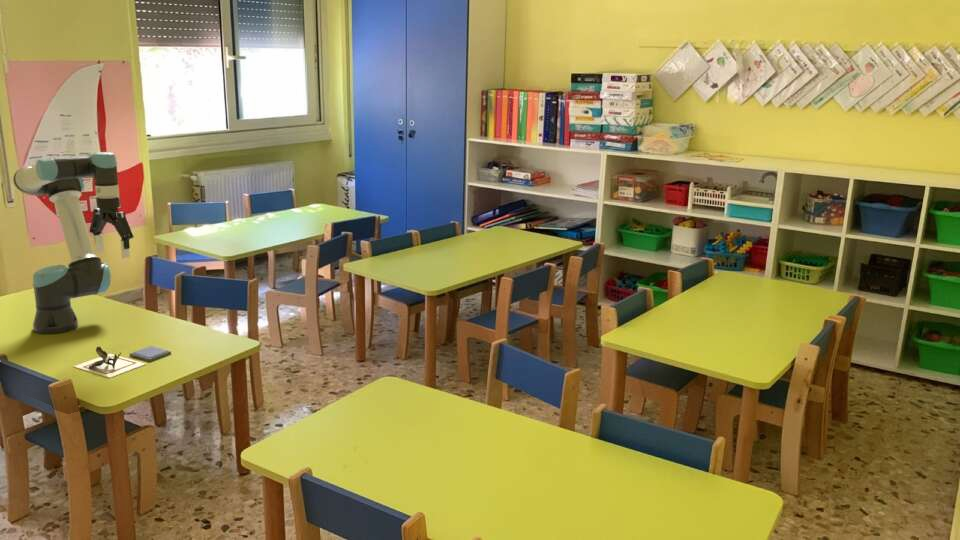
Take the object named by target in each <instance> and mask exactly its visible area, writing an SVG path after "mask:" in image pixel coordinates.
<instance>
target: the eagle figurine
mask: <svg viewBox="0 0 960 540" xmlns="http://www.w3.org/2000/svg"><path fill="white" fill-rule="evenodd" d="M95 353H96V354H97V355H98V357H101V358H103V360H100V361H96V362H94V363H93V364H92V365H90V366H89V368H92V367H94V366H101V365H102V364H103V363H105V364H107V365H112V367H113V368H115V363H116V361H117V359H118V358H119V356H120V357H121V354H122V352H119V354H118V355H117V354H116V353H115V354H114V355H115V356H114V358H113V359H112V358H109V357H110V355H109V356H108V354H109V353H107V352H106V350H103V348H102V346H97V347H96V349H95ZM107 356H108V357H107ZM109 360H113V364H112V363H110V362H109Z"/></svg>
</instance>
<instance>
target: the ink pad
mask: <svg viewBox="0 0 960 540" xmlns="http://www.w3.org/2000/svg"><path fill="white" fill-rule="evenodd" d="M169 355H172V352H171V350H168V349H165V348H160V347H158V346H153V345H150V346H146V347H144V348H140V349H138V350H136V351H133V352H130V353H129V357H132V358H136V359H139V360H143V361H145V362H153V361H156V360H158V359H161V358H163V357H166V356H169Z"/></svg>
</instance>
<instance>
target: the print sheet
mask: <svg viewBox="0 0 960 540" xmlns="http://www.w3.org/2000/svg"><path fill="white" fill-rule="evenodd" d="M107 354H108V356H109V355H110V357H109V358H112V359H113V358H114V356H115V354H112V353H107ZM108 356H107V357H108ZM100 360H103V358H101V357H100V356H98V357H96V358H93V359H91V360H88V361H85V362H82V363H80V364H76V365H74V366H73V368H75V369H79V370H82V371H86V372H88V373H92V374H95V375H98V376H102V377H105V378H108V379H111V378H115V377H117V376H119V375H122V374H125V373H128V372H130V371H133V370H135V369H138V368H141V367H143V366H146V365H147V363H144V362H141V361H136V360H134V359H130V358H127V357H123V356H121V355H120V356H119V358H118V359H117V361H116V363H115V368H113V367H112V365H107V364H105V363H103V364H102V365H101V366H94V367H92V368H89V366H90V365H92V364H93V363H94V362H96V361H100ZM109 362H110V363H112V364H113V360H109Z"/></svg>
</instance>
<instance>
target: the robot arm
mask: <svg viewBox="0 0 960 540" xmlns="http://www.w3.org/2000/svg"><path fill="white" fill-rule="evenodd" d="M117 165H118V162H117V157H116V155H115V153H113V152H109V151H108V152H107V151H100V152H99V151H98V152H94V153H93V154H86V155H81V156H68V157H45V158H39V159H37V160H36V163H35V165H29V166H23V167H21V168H19V169H17V170H16V171H15V172H14V175H13V177H12V181H13V185H14V186H15V188H16V189H17V190H19V192H21V193H23V194H26V195H30V196H48V199H49V201H50V202H51V203H53V204H54V205H55V208H56V212H57V215H58V219H59V222H60V226H61V229H62V233H63V236H64V239H65V240H64V241H65V243H66V247H67V251H68V254H69V258H70V261H69V263H68V265H67V266H68V267H67V266H66V265H64V264H58V265H50V266H49V265H48V266H46V267H42V268H39V269H38V270H36V271H35V272H34V273H33V275H32V287H33V293H34V299H35V307H36V310H35V315H34V319H33V323H32V328H33V329H32V330H33V332H35V333H37V334H43V335H44V334H45V335H49V334H50V335H51V334H61V333H65V332H69V331H72V330H74V329H76V328H78V326H79V321H78V318H77V316H76V314H75V312H74V310H73V307H72V302H71V299H76V298H82V297H87V296H92V295H95V296H96V295H99V294H102V293H106V292H107V291H108V290H109V289H110V286H111V278H112V277H111V269H110V266H109V264H108V263H107V262H102V259H101V257H100V256H98V255H96V254H102V253H104V252H105V245H104V244H105V243H104V235H103V230H104V229H105V226H106V224H111V225H112V226H113V227H114V229H115V230H116V231H117V234H118V235H119V237H120V238H121V239H120V252H121V259H127V258H130V257H131V255H130V253H131V252H130V240H131V239H133V238H134V234H133V232H132V230H131V228H130V225H129V222H128V220H127V217H126V212H125V211H119V208H120V207H121V201H120V200H121V199H120V187H119V177H118V166H117ZM84 178H93V179H94V187H95V196H96V199H95V201H96V207H95V208H93V211H92V212H93V213H92V214H93V215H92V219H91V222H90V226H89V229H88V226H87V222H86V219H85V216H84V212H83V210H82V209H83V208H82V206H81V202H80V198H81V196H82V192H83V191H84V189H85V179H84ZM90 233H92V234H93V236H94V244H95V250H96V251H94V247H93V243H92V240H91V237H90ZM95 252H96V254H95Z"/></svg>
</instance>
